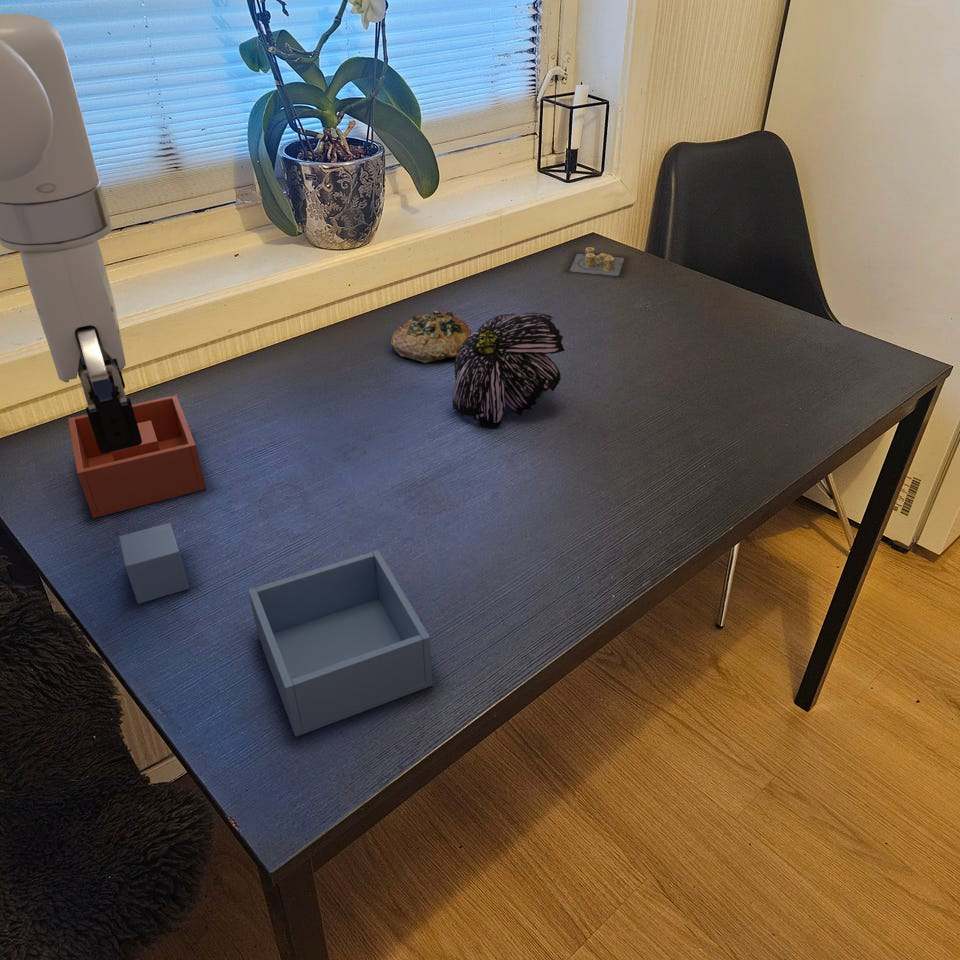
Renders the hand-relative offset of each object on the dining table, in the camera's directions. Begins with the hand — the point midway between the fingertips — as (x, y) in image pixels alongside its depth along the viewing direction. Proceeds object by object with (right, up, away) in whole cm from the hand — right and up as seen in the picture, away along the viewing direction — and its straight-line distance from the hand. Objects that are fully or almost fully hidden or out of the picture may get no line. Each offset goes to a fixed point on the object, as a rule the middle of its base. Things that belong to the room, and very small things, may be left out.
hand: (113, 418), depth 69 cm
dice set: (+50, +30, +68) cm, 90 cm away
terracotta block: (-6, -4, +20) cm, 21 cm away
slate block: (+1, -14, +7) cm, 16 cm away
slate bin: (+19, -20, -1) cm, 28 cm away
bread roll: (+24, +13, +45) cm, 52 cm away
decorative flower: (+33, +4, +33) cm, 47 cm away
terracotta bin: (-6, -5, +20) cm, 21 cm away
